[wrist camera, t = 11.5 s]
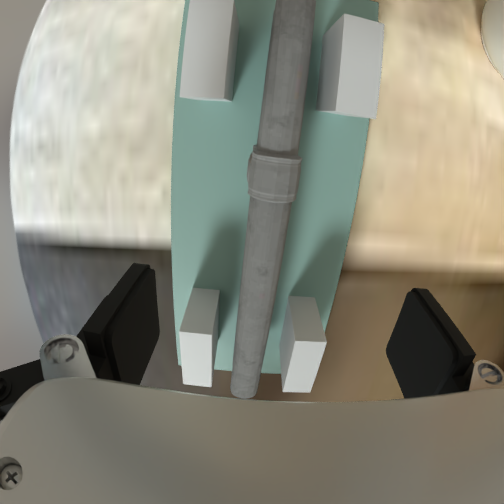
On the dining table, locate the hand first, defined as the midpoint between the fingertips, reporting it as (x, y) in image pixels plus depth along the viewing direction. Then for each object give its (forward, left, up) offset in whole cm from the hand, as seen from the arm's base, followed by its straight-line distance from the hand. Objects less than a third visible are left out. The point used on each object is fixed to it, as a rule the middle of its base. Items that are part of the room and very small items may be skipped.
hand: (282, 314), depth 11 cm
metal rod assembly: (0, 0, -11) cm, 11 cm away
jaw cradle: (+1, -1, -12) cm, 12 cm away
